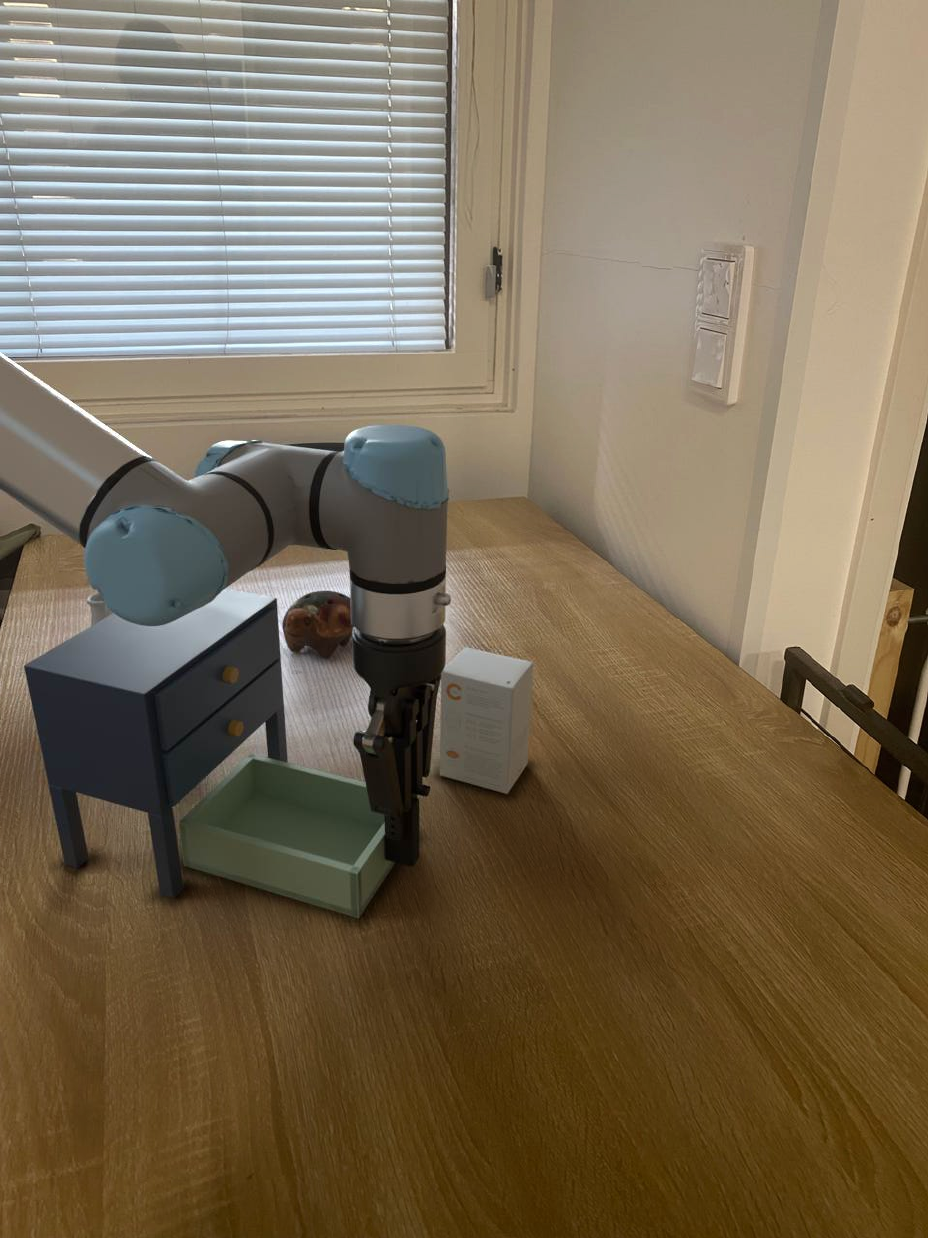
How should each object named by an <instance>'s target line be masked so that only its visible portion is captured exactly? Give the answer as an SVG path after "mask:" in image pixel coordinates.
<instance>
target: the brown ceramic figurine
mask: <svg viewBox="0 0 928 1238" xmlns="http://www.w3.org/2000/svg"><path fill="white" fill-rule="evenodd" d="M281 624H282V625H281V626H282V633H283V637H284V641H285V643H286V646H287V648H288V649H289V650H290V652H293V653H298V652H300V651H302V650H303V649H304V648H305V647H308V648H310V649H312V650H313V651H314V652H315V653H316V654H317V655H318V656H319V657H320V658H322V659H323V660H324V659H325V660H328V659H329V658H331V656H333V654H334V653H335V652H336V650H337V648H338V647H339V646H340V647H346V646H347V645H349V643H350V640H351V639H352V630H353V627H354V625H353V624H352V623H351V608H350V596H348V595H346V594H344V593H341V592H338V591H334V590H317V591H311V592H308V593H306V594H304V595H303V596H301V597H299V598H298V599H297V600H295V601H294V602H293V603H292V604H291V605H290V606H289V608H288V609H287V611H286V612H285V615H284V616H283V619H282V623H281Z"/></svg>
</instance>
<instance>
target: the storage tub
mask: <svg viewBox="0 0 928 1238" xmlns="http://www.w3.org/2000/svg"><path fill="white" fill-rule="evenodd" d="M177 823H178V832H179V838H180V847H181V852H182V861H183V866H185V867H187V868H190V869H194V870H198V871H200V872H204V873H207V874H211V875H214V876H217V877H221V878H224V879H226V880H231V881H233V882H237V883H240V884H243V885H247V886H250V887H254V888H257V889H260V890H263V891H267V892H270V893H273V894H277V895H280V896H283V897H286V898H287V897H288V898H290V899H293V900H296V901H300V902H303V903H306V904H310V905H313V906H317V907H320V908H323V909H326V910H330V911H332V912H337V913H339V914H343V915H346V916H349V917H351V918H352V917H353V918H355V919H356V918H357V919H360V917H361V916H362V915H363V913H364V911H365V910H366V907H367V906H368V905H369V904H370V902H371V900H372V899H373V897H374V896H375V894H376V893H377V891H378V890H379V888H380V887H381V885H382V884H383V882H384V881H385V879H386V878H387V876H388V875H389V873H390V872H391V870H392V868H393V867H394V865H395V864H396V862H392V861H388V860H386V857H385V818H384V815H383V814H379V813H375V812H372V811H371V808H370V803H369V798H368V793H367V788H366V782H365V781H362V780H357V779H354V778H349V777H346V776H342V775H338V774H334V773H329V772H325V771H323V770H318V769H314V768H310V767H306V766H302V765H298V764H294V763H292V762H288V763H287V762H283V761H279V760H275V759H271V758H268V756H267V757H266V756H263V755H259V754H255V753H249V754H248V755H247V756H246V757H245V758H244V759H243V760H241V762H240V763H239V764H238V765H237V766H236V767H234V768H233V770H232V771H230V773H228V774H227V775H226V776H225V777H224V778H223V779H222V780H221V781H220V782H219V783H218V784H217V785H216V786H215V787H214V788H213V789H211V790H210V792H208V794H207V795H205V796H204V797H203V798H202V799H201V800H200V801H199V802H198V803H197V804H196V805H195V806H194V807H193V808H191V810H190V811H188V812H187V814H186V815H185V816H183V817H182V818H181V819H180V820H179V821H178V822H177Z"/></svg>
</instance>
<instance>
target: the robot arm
mask: <svg viewBox="0 0 928 1238" xmlns="http://www.w3.org/2000/svg"><path fill="white" fill-rule="evenodd" d="M204 456H205V457H204V458H202V459H201V460H199V461H198V464H197V466H196V468H195V470H194V471H195V472H194V474H193V478H192V479H189V480H186V479H184V478H183V477H181V476H180V475H179V474H177V473H176V472H174V471H173V470H172V469H170V468H168V467H167V466H165V465H164V464H162V463H160V462H159V461H157V460H156V459H154V457H152V456H150V455H149V454H147V453H146V452H144V451H143V450H141V449H140V448H139V447H137V446H136V445H134V444H133V443H131V442H130V441H128V440H127V439H125V438H124V437H123V436H121V435H119V434H118V433H117V432H115V431H114V430H112V429H111V428H110V427H108V426H107V425H105V424H104V423H102V422H101V421H100V420H98V419H97V418H95V417H94V416H93V415H91V414H89V413H88V412H86V411H85V410H84V409H82V408H81V407H79V406H78V405H76V404H75V403H73V402H72V401H71V400H69V399H68V398H67V397H65V396H64V395H62V394H61V393H59V392H58V391H56V390H55V389H53V388H52V387H51V386H49V385H48V384H46V383H44V382H43V381H42V380H40V379H39V378H38V377H36V376H34V375H33V374H32V373H31V372H29V371H27V370H26V369H24V368H23V367H22V366H20V365H19V364H17V363H16V362H15V361H13V360H11V359H10V358H8V357H7V356H6V355H5V354H3V353H1V352H0V491H1V492H2V493H4V494H6V495H7V496H9V497H11V498H12V499H13V500H14V501H16V502H18V503H19V504H20V505H22V506H23V507H24V508H26V509H28V510H29V511H31V512H32V513H33V514H35V515H36V516H37V517H39V518H41V519H42V520H44V522H47V523H48V524H50V525H51V526H52V527H54V528H55V529H56V530H58V531H59V532H61V533H63V535H65V536H67V538H69V539H71V540H72V541H74V542H75V543H77V544H78V545H80V546H81V547H82V548H84V554H83V564H84V569H85V574H86V577H87V580H88V582H89V584H90V586H91V588H92V590H96V591H97V593H99V594H100V595H101V596H102V598H103V599H104V605H105V606H106V607H107V608H108V609H110V610H111V611H112V612H113V613H114V614H116V615H117V616H119V617H121V618H122V619H124V620H126V621H129V622H131V623H134V624H138V625H143V626H160V625H165V624H168V623H170V622H173V621H175V620H177V619H179V618H181V617H183V616H185V615H186V614H188V613H190V612H192V611H194V610H196V609H198V608H201V607H203V606H205V605H206V604H208V603H210V602H212V601H213V600H214V599H215V598H216V596H217V595H218V594H220V593H221V591H223V590H224V589H225V588H227V589H228V587H230V586H231V585H232V584H234V583H235V582H237V581H238V580H240V579H241V578H242V577H245V575H247V574H248V573H249V572H252V571H253V570H255V569H256V568H258V567H260V566H261V565H263V564H264V563H266V562H267V561H268V560H270V559H271V558H273V557H274V556H276V555H277V554H279V553H281V552H282V551H283V550H285V549H286V548H287V547H289V546H301V547H309V548H316V549H323V550H331V551H344V552H347V560H348V568H349V570H348V571H349V597H350V608H351V623H352V624H353V625H354V627H353V630H352V636H351V645H352V649H351V650H352V667H353V669H354V671H355V673H356V674H357V676H359V677H360V678H361V679H362V680H363V681H364V682H365V683H366V684H367V685H368V687H369V688H370V690H369V698H368V703H367V712H368V714H369V716H370V718H371V719H370V721H369V723H368V726H367V728H366V730H364V731H362V730H356V732H355V733H354V736H353V739H352V743H353V746H354V748H355V749H356V750H357V752H358V753H359V756H360V761H361V767H362V772H363V777H364V782H366V788H367V793H368V798H369V803H370V808H371V811H372V812H375V813H379V814H383V815H384V818H385V857H386V860H388V861H392V862H395V864H400V865H404V866H407V867H410V868H414V866H415V865H416V863H417V861H418V860H419V858H420V798H419V797H418V796H421V797H424V798H427V797H428V796H429V794H430V791H431V786H430V785H426V784H424V783H423V782H424V780H423V778H428V777H429V776H430V773H431V764H432V763H431V762H432V754H433V753H432V751H433V743H434V732H435V719H436V711H437V710H436V709H437V699H438V694H439V689H440V686H441V673H442V671H443V669H444V668H445V667H446V665H447V664H446V663H447V629H446V627H445V625H444V623H445V622H446V607H447V606H449V605H451V603H452V602H451V601H452V596H451V594H449V593H447V591H446V587H447V541H448V539H447V537H448V535H447V534H448V502H449V500H450V496H449V495H450V489H449V487H448V476H447V473H448V472H447V456H446V448H445V444H444V442H443V440H442V439H441V437H440V436H439V435H438V434H436V433H435V432H433V431H431V430H429V429H426V428H424V427H420V426H415V425H407V424H394V425H387V424H377V425H368V426H364V427H361V428H358V429H354V430H353V431H351V432H350V433H349V434H347V436H346V438H345V440H344V445H343V450H342V451H338V450H337V451H335V450H328V449H327V450H326V449H318V448H311V447H303V446H302V447H301V446H294V445H286V444H278V443H270V441H263V440H260V439H249V440H247V441H246V440H245V441H244V440H222V441H219V442H217V443H214V444H212V445H211V446H210V447H209V448H208V449H207V450H206V452H205V455H204Z"/></svg>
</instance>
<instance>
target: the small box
mask: <svg viewBox="0 0 928 1238" xmlns="http://www.w3.org/2000/svg"><path fill="white" fill-rule="evenodd" d="M533 677H534V662H533V661H530V660H525V659H521V658H517V657H511V656H507V655H502V654H498V653H494V652H490V651H486V650H485V651H484V650H480V649H476V648H471V647H467V646H464V647H463V649H461V650H460V651H459V653H458V654H457V655H456V656H454V658H453V659H452V660H451V661H450V662H449V663H448V664H446V665H445V667H444V669H443V671H442V673H441V680H440V722H439V723H440V726H439V727H440V728H439V776H441V777H444V778H447V779H452V780H455V781H459V782H463V783H465V784H469V785H473V786H477V787H480V788H483V789H488V790H491V791H495V792H498V793H502V794H504V795H508V794H509V792H510V791H511V789H512V788H513V786H514V785H515V783H516V782H517V780H518V779H519V778H520V776H521V774H522V773H523V771H524V770H525V769H526V767H527V766H528V762H529V745H530V731H531V714H532V713H531V712H532V698H533V697H532V695H533Z"/></svg>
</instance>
